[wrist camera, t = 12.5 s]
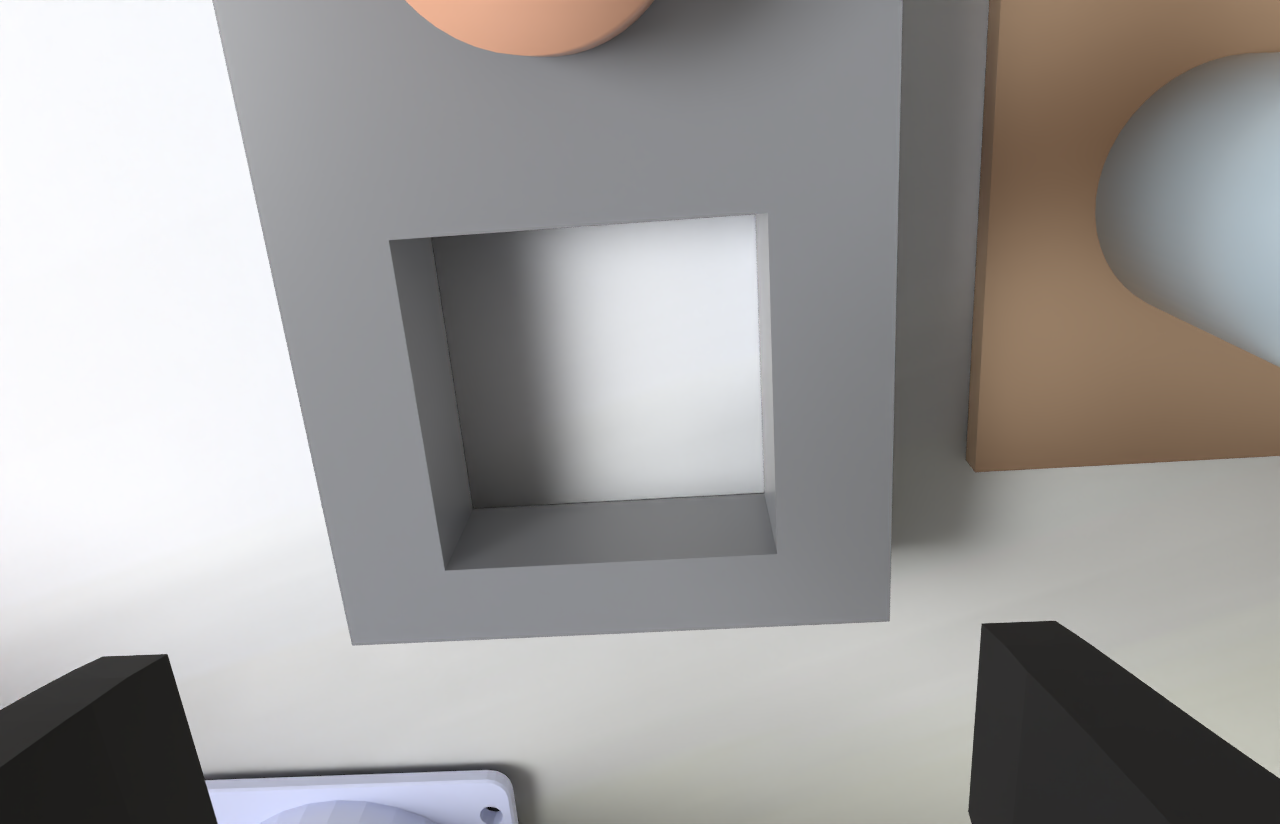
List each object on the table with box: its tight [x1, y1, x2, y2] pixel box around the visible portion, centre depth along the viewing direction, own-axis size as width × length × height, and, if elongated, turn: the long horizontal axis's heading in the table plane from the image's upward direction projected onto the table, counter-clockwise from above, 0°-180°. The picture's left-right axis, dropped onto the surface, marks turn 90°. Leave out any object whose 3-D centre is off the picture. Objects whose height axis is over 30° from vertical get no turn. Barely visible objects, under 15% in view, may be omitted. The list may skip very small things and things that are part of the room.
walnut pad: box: [966, 0, 1280, 472], centre depth 16 cm, size 10×8×1 cm
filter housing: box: [213, 0, 903, 645], centre depth 15 cm, size 16×10×2 cm, turn 4°
